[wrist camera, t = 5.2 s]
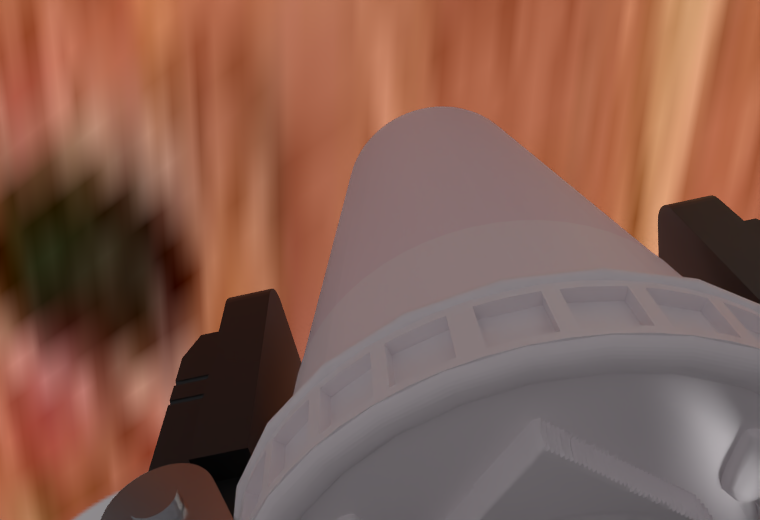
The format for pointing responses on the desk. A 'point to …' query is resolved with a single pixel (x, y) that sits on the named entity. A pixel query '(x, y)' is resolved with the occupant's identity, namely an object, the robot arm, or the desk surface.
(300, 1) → the desk surface
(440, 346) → the smoothie
